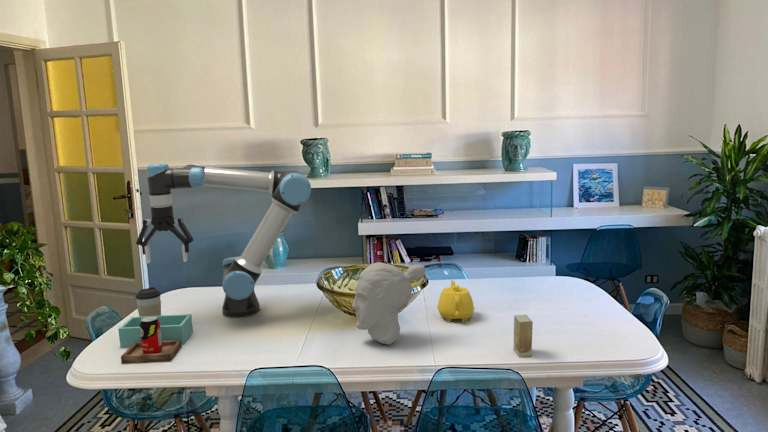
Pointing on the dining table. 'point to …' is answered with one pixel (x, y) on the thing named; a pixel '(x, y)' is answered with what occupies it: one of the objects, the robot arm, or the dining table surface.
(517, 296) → the dining table surface
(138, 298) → the coffee cup
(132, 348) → the tray
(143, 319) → the beverage can
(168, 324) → the teal open box
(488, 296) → the dining table surface
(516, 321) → the skincare box
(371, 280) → the bust
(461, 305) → the teapot
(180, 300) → the dining table surface
